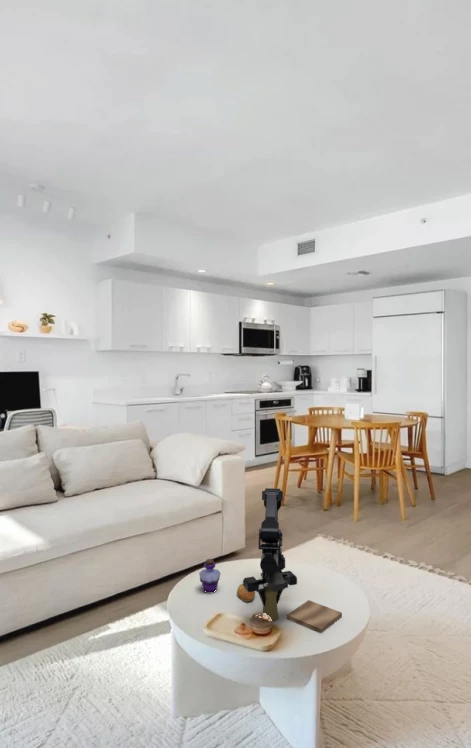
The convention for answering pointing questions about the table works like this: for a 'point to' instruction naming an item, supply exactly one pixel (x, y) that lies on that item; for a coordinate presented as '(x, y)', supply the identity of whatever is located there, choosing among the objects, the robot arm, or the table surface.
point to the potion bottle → (209, 576)
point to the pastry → (245, 594)
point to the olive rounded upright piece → (270, 604)
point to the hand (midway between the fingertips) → (270, 604)
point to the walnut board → (314, 616)
